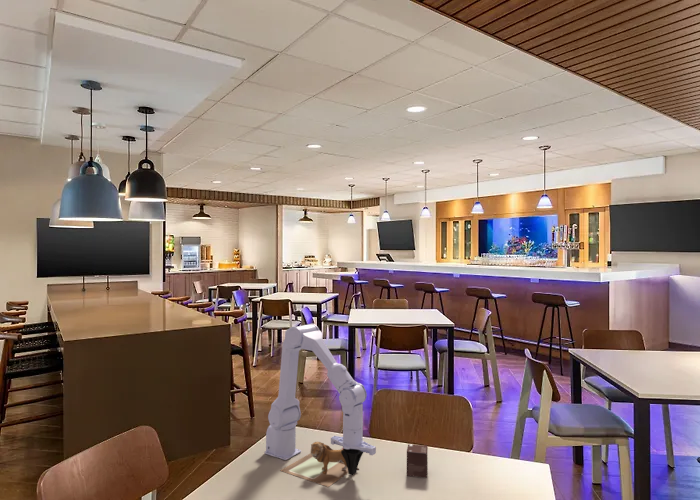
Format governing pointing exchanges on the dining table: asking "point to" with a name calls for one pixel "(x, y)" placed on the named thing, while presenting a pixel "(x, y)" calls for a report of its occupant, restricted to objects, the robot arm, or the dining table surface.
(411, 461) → the box
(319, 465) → the picture sheet
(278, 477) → the dining table surface
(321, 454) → the lion figurine
